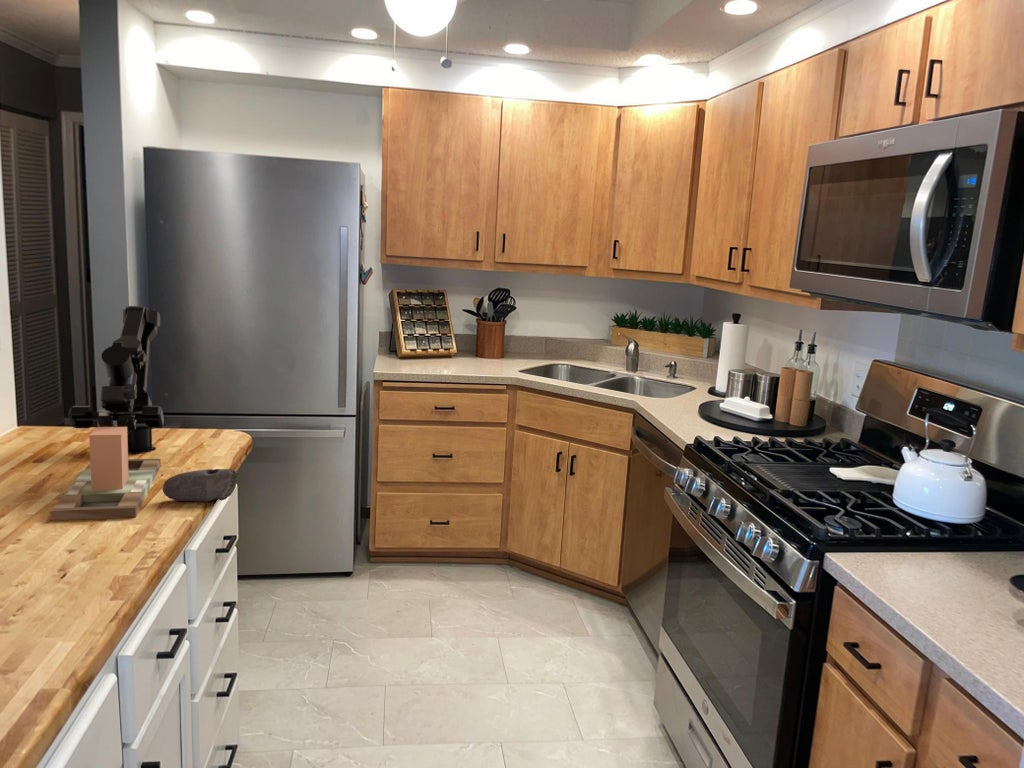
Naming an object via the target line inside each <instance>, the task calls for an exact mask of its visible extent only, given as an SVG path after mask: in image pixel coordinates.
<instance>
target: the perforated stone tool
mask: <svg viewBox="0 0 1024 768" xmlns="http://www.w3.org/2000/svg"><path fill="white" fill-rule="evenodd" d="M237 475H238V472H237V471H236V470H235V469H233V468H226V469H225V468H215V469H214V468H213V469H212V468H211V469H210V468H207V469H201V470H200V469H199V470H191V471H187V472H182V473H178V474H175V475H173V476H171V477H169V478H167V479H166V480H165V481H164V483H163V487H162V492H163V494H164V495H165V496H166V497H167V498H169V499H170V500H174V501H178V502H186V501H189V500H190V502H192V501H194V503H199V502H201V503H205V502H206V503H207V502H211V501H215V500H219V501H224V500H226V499H228V497H229V498H230V497H231V496H232V494H233V493H234V491H235V489H236V487H237V482H238V477H237Z"/></svg>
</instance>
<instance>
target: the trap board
mask: <svg viewBox="0 0 1024 768" xmlns="http://www.w3.org/2000/svg"><path fill="white" fill-rule="evenodd" d="M161 467H162V465H161V458H128V474H129V479H128V481H127V482H126V484H125V486H124V487H123V489H100V490H91V465H90V462H89V463H88V464H87V466H86V467H85V468H84V469H83V471H82V472H81V473H80V474H79V475H78V477H77V478H76V479H75V480H74V482H73V483H72V484H71V485H70V487H69V488H68V489H67V491H65V493H64V494H63V495H62V496H61V498H60V499H59V500H58V501H57V503H56V504H55V505H54V506H53V508H52V509H51V510H50V521H54V522H55V521H74V520H75V521H76V520H77V521H78V520H99V519H101V520H103V519H105V520H106V519H128V518H136V517H137V516H138V513H139V511H140V509H141V507H142V505H143V503H144V501H145V499H146V497H147V495H148V493H149V491H150V489H151V487H152V485H153V483H154V481H155V479H156V477H157V475H158V474H159V472H160V471H159V470H160V468H161Z"/></svg>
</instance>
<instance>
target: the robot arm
mask: <svg viewBox="0 0 1024 768" xmlns="http://www.w3.org/2000/svg"><path fill="white" fill-rule="evenodd" d="M122 311H123V312H122V324H123V326H122V328H121V329H122V331H121V334H120V336H119V338H117V339H115V340H113V341H112V343H111V345H110V346H109V347H107V348H105V349H104V350H103V351H102V352H101V360H102V363H103V367H104V371H105V373H106V375H107V377H108V385H103V386H101V391H100V393H101V394H100V401H101V408H102V409H99V410H98V411H92V407H91V405H73V406H71V407H70V408H69V409H68V415H67V416H68V419H69V420H70V423H71V426H72V428H73V429H90V428H92V427H93V426H94V422H97V423H98V427H115V425H114V422H116V425H117V426H116V427H127V438H128V454H133V455H138V454H142V453H146V452H151V451H155V450H157V447H156V446H153V433H152V432H153V431H152V430H153V429H157V428H158V429H161V428H163V427H164V422H165V421H164V420H165V419H164V418H165V417H164V412H163V409H162V407H161V406H160V405H153V403H152V400H151V398H150V396H149V394H148V392H147V388H148V387H147V386H148V374H149V358H150V344H151V342H152V341H153V340H154V339H155V337H156V336H157V335H158V327H159V328H160V326H161V314H160V313H159V312H158V310H156V309H151V308H148V307H145V305H144V306H143V305H141V306H139V305H138V306H137V305H129V306H126V307H125V309H123V310H122Z"/></svg>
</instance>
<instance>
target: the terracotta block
mask: <svg viewBox="0 0 1024 768" xmlns="http://www.w3.org/2000/svg"><path fill="white" fill-rule="evenodd" d="M88 439H89V457H90V458H89V460H90V462H89V463H90V465H91V490H100V489H123V487H124V486H125V484H126V482H127V481H128V479H129V474H128V459H129V453H128V438H127V427H117V426H114V427H99V426H96V428H94V430H93V431H92V432H91V433H90V434H89V438H88Z"/></svg>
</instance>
